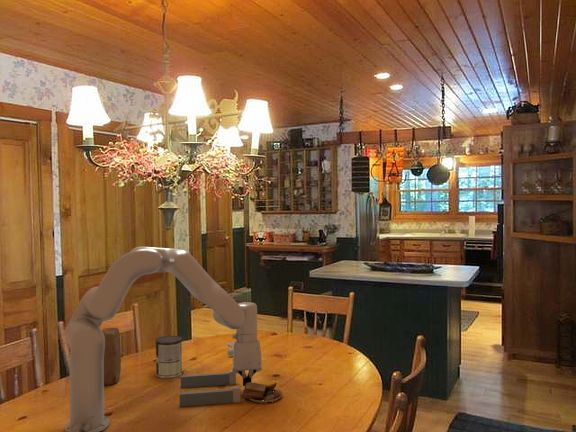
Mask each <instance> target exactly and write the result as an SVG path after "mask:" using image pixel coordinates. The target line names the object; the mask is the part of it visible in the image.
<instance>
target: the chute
mask: <svg viewBox="0 0 576 432" xmlns="http://www.w3.org/2000/svg"><path fill="white" fill-rule="evenodd" d="M236 375H237V373H233V372H232V369H230V370H228V372H219V373H218V372H217V373H205V374H204V373H203V374H201V373H200V374H190V375H189V374H187V375H185V374H184V375H180V388H181V389H186V388H199V387H212V386H214V387H215V386H223V385H224V386H227V385H228V386H229V385H231V386H232V385H235V386H232V388H231V389H215V390H205V391H203V390H201V391H189V392H187V391H186V392H179V407H191V406H192V405H193V406H204V405H205V404H206V405H217V404H228V403H230V404H231V402H232V403H233V402H234V403H241V386H239V385H238V386H236V385H237V376H236Z"/></svg>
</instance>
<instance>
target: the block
mask: <svg viewBox="0 0 576 432" xmlns="http://www.w3.org/2000/svg"><path fill="white" fill-rule="evenodd" d="M102 331H103V333H104V336H105V350H104V386H107V385H113V384H116V383H118V382H119V381H120V377H121V369H122V365H121V363H122V353H121V352H122V348H121V338H120V331H119V328H118V327H108V328H107V327H105V328H103V329H102Z"/></svg>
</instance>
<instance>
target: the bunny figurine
mask: <svg viewBox="0 0 576 432" xmlns="http://www.w3.org/2000/svg"><path fill="white" fill-rule="evenodd" d="M226 345H227V347H229V349H227V355H228V356H232V357H233V349H234V342H227V344H226Z"/></svg>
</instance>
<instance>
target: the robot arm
mask: <svg viewBox="0 0 576 432" xmlns="http://www.w3.org/2000/svg"><path fill="white" fill-rule="evenodd" d="M154 273H170V274H173V276H175V277H176V279H178V281H180V283H181V284H182V285H183V286H184V287H185V288H186V290H187V291H189V293H190V294H191V295H192V296H193V297H194V298H195V299H197V300H198V301H200V303H202V304H204V305H205V306H207V307H209V308H210V309H211V310H212V311H213V312H212V316H213V319H214V321H215V322H216V323H217V324H219V325H222V326H224V327H226V328H228V329H230V330H235V331H236V332H235V333H234V334H232V339H234V342H233V343H234V349H233V356H232V369H231V370H232V372H233V373H236V374H238V375H240V376H241V377H242V386H243V387H245V384H246V383H248V382H252V378H253V376H254V375H255V374H256V373H259V372H261V371H262V370H263V368H262V365H263V363H262V362H263V360H262V348H261V347H262V346H261V342H260V340H259V339H258V305H257V304H256V303H255V302H251V301H243V302H239V303H238V302H237V301H236V300H235V299H234V298H233V297H232V296H231V295H230V294H229V293H228V292H227V291H226V290H225V289H223V288H222V286H220V284H219V283H217V282H216V281H215V280H214V279H213V278H212V277H211V275H210V274H208V272H207V271H206V270H205V269H204V267H203V266H202V265H201V264H200V263H199V262H198V261H197V260H196V258H195V257H194V256H193V255H192V254H191V253H190V252H189V251H187V250H184V249H180V248H179V249H178V248H173V247H172V248H170V247H169V248H168V247H167V248H166V247H151V246H136V247H134V248H132V249H131V250H130V251H129V252H127V253H125V254H123V255H122V256H120V257H119V258H117V259H116V260H115V261H114V262H113V263H112V264H111V266H110V267H109V268H108V270H107V271H106V273H105V275H104V276H103V278H102V280H101V281H100V282H99V285H98V286H94V287H91V288H90V289H89V290H87V291H86V292H85V293H84V295H83V296H82V298H81V300H80V301H79V303H78V305H77V306H76V308H75V310H74V311H73V313H72V315H71V317H70V319H69V321H68V323H67V325H66V328H65V332H64V335H65V340H66V342H67V344H68V345H69V347H70V350H69V351H70V357H69V417H70V418H69V421H67V423H66V424H65V425H64V432H102V431H104V430H106V429H107V428H108V427H109V426H110V420H111V419H110V418H109V417H108V416H106V415H105V385H104V350H105V336H104V333H103V331H102V330H103V329H102V328H101V326H102V324H103V322H105V321H109V320H112V319H113V318H114V317H115V316H117V313H118V312H119V310H120V308H121V306H122V303H123V302H124V299H125V298H126V296H127V294H128V292H129V290H130V289H131V287H132V285H133V284H134V283H135V281H136V280H137V279H139V278H140V277H142V276H144V275H152V274H154ZM246 371H248V374H246Z"/></svg>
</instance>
